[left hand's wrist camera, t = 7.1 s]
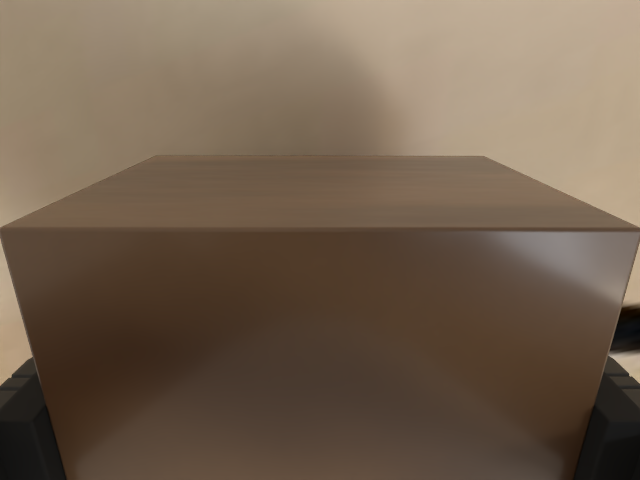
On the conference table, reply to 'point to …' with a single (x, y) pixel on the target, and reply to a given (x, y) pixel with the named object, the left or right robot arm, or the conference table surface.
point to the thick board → (320, 319)
